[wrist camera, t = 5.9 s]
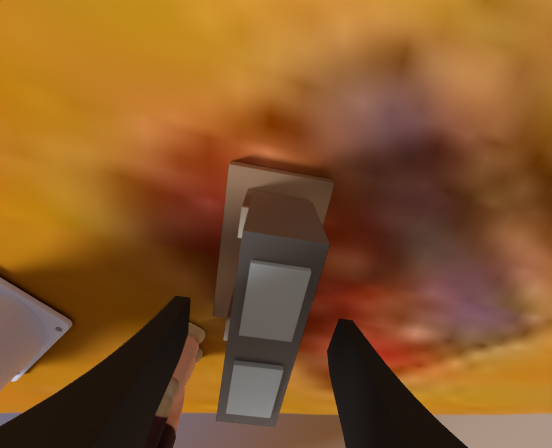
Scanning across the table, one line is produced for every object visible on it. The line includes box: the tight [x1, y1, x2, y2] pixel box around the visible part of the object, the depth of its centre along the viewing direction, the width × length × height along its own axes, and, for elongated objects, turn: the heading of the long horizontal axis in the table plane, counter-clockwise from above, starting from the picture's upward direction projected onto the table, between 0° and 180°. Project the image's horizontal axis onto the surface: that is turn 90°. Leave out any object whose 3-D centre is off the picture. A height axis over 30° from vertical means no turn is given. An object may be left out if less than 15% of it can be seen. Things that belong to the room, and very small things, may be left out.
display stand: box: [213, 161, 335, 341], centre depth 16 cm, size 11×6×4 cm, turn 170°
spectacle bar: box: [216, 193, 330, 427], centre depth 12 cm, size 10×3×4 cm, turn 170°
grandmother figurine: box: [143, 322, 206, 448], centre depth 15 cm, size 8×4×13 cm, turn 176°
